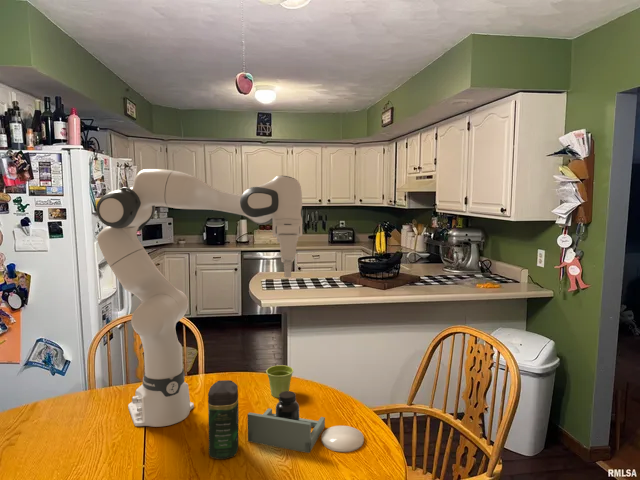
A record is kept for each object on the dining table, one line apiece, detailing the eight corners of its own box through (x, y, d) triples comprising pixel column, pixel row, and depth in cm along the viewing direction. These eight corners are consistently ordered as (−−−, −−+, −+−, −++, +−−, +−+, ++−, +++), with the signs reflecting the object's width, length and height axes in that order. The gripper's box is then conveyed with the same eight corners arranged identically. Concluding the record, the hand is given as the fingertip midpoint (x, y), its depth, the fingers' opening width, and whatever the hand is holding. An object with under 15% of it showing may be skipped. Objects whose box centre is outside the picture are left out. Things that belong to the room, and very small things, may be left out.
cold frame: (268, 417, 138) (268, 392, 137) (324, 426, 133) (324, 401, 132) (247, 441, 125) (247, 414, 124) (309, 453, 119) (309, 424, 118)
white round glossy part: (312, 439, 126) (312, 435, 126) (342, 424, 134) (342, 421, 134) (342, 457, 117) (342, 453, 117) (372, 440, 125) (372, 437, 125)
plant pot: (289, 401, 149) (289, 376, 148) (262, 399, 151) (262, 374, 150) (296, 389, 158) (296, 366, 157) (271, 387, 160) (271, 364, 159)
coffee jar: (237, 459, 116) (236, 392, 114) (207, 461, 115) (205, 393, 113) (240, 439, 125) (239, 376, 124) (211, 441, 125) (210, 378, 123)
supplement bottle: (303, 430, 130) (303, 391, 129) (292, 442, 124) (292, 401, 123) (283, 425, 133) (283, 387, 132) (271, 436, 127) (271, 396, 126)
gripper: (276, 233, 141) (277, 277, 140) (276, 226, 121) (276, 277, 120) (296, 233, 142) (296, 277, 140) (299, 226, 121) (300, 277, 120)
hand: (287, 277), depth 130 cm, fingers open, 8 cm apart
